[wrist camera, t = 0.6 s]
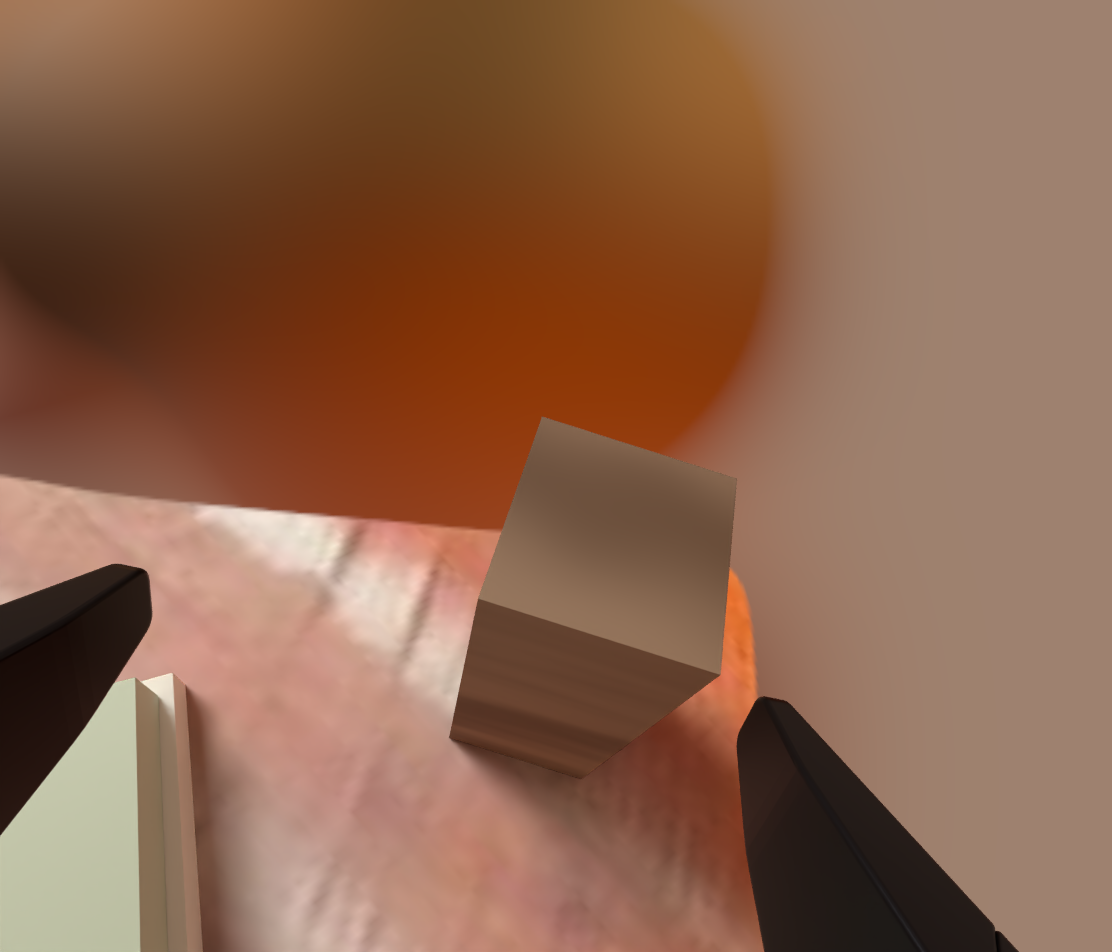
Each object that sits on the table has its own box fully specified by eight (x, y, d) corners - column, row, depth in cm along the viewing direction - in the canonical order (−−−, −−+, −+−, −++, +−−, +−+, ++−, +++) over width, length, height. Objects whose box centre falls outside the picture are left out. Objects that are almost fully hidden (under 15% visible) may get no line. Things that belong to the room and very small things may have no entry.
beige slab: (211, 993, 18) (190, 1001, 16) (-209, 1176, 15) (-287, 1210, 13) (190, 689, 22) (172, 672, 20) (-137, 782, 19) (-189, 771, 17)
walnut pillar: (581, 778, 22) (720, 674, 12) (449, 737, 22) (478, 598, 12) (607, 649, 25) (736, 478, 15) (491, 612, 25) (542, 417, 15)
